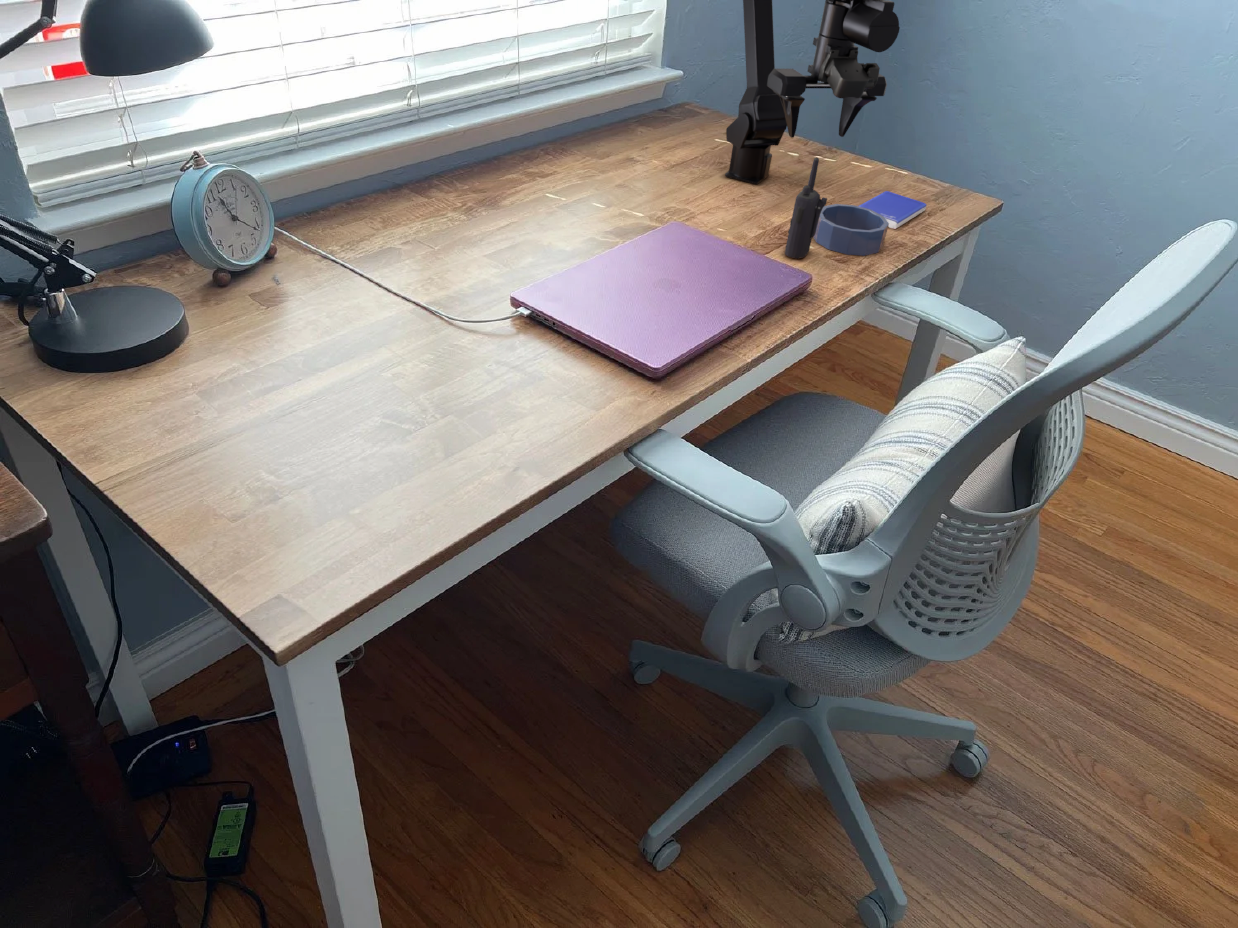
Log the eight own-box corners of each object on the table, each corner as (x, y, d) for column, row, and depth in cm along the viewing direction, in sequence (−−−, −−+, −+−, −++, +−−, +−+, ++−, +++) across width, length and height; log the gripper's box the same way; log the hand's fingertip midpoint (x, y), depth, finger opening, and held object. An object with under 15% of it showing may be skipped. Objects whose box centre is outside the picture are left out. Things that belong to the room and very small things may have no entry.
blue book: (898, 221, 161) (927, 203, 169) (854, 206, 164) (885, 190, 172) (895, 230, 161) (924, 211, 170) (852, 215, 165) (883, 198, 173)
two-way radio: (791, 245, 152) (811, 152, 143) (818, 252, 151) (839, 159, 142) (780, 257, 148) (800, 162, 139) (808, 264, 147) (829, 169, 138)
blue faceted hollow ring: (804, 243, 154) (809, 219, 151) (825, 221, 162) (830, 199, 159) (871, 261, 150) (877, 237, 147) (889, 238, 158) (895, 215, 156)
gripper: (806, 48, 139) (786, 154, 148) (916, 50, 144) (890, 152, 153) (774, 29, 147) (757, 131, 156) (879, 31, 152) (857, 130, 162)
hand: (816, 136), depth 157 cm, fingers open, 9 cm apart
